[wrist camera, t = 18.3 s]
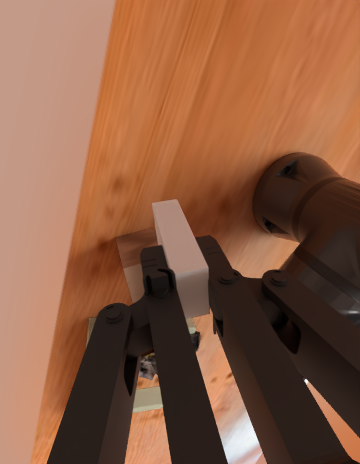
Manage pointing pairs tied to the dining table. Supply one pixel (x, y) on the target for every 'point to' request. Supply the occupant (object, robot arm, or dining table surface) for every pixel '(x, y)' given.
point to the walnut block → (135, 258)
